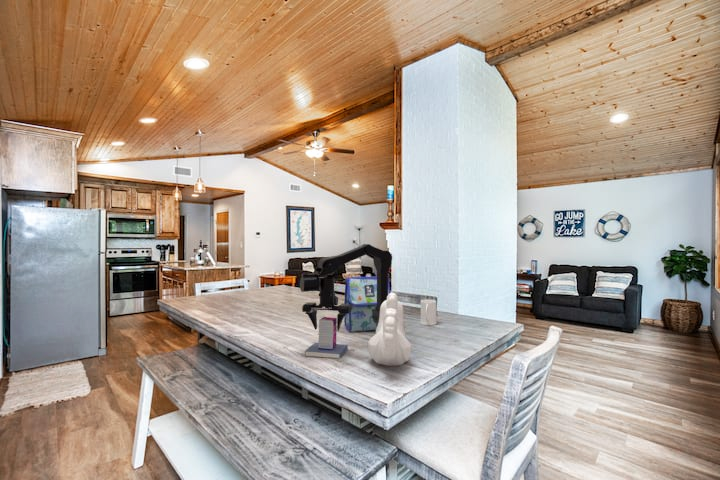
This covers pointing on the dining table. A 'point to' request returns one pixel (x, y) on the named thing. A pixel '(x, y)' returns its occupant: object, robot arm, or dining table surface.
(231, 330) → the dining table surface
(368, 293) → the lunch bag
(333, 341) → the supplement box
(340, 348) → the notebook
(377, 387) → the dining table surface
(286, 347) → the dining table surface
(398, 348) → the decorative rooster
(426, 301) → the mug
